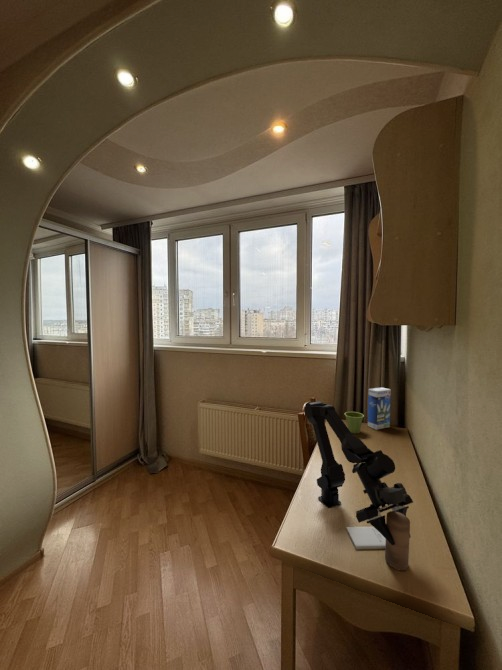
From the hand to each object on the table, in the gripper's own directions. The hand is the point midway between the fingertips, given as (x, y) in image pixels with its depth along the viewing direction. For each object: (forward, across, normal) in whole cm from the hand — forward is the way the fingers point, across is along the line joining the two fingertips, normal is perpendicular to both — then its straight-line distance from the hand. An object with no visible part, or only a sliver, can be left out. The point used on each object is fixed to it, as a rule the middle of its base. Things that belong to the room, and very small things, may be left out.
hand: (401, 541), depth 78 cm
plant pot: (-50, +60, +63) cm, 100 cm away
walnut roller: (+4, 0, +6) cm, 7 cm away
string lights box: (-50, +82, +63) cm, 115 cm away
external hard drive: (-2, 0, +14) cm, 14 cm away
